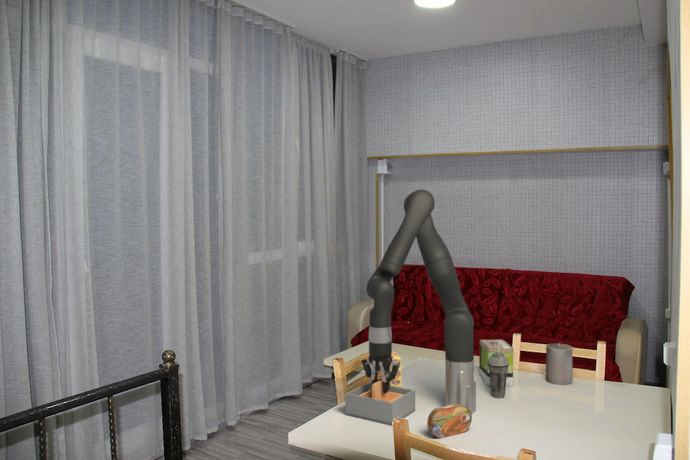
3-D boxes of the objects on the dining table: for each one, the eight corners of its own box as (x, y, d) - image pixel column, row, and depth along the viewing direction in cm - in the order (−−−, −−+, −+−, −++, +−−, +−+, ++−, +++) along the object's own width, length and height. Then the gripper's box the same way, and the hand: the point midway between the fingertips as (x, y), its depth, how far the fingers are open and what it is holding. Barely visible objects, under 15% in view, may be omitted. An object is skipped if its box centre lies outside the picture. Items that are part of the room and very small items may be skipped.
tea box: (514, 386, 214) (514, 347, 214) (487, 386, 214) (487, 347, 214) (503, 375, 229) (503, 338, 229) (478, 375, 229) (478, 338, 229)
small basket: (403, 409, 188) (403, 380, 188) (389, 418, 180) (389, 388, 179) (372, 402, 194) (372, 374, 194) (357, 411, 186) (356, 382, 186)
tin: (431, 440, 165) (431, 412, 164) (425, 436, 167) (425, 408, 167) (472, 431, 172) (472, 403, 171) (465, 427, 174) (465, 400, 174)
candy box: (402, 401, 199) (402, 357, 198) (390, 401, 198) (390, 358, 198) (396, 393, 207) (396, 351, 207) (385, 393, 207) (384, 351, 206)
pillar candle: (543, 377, 226) (543, 339, 225) (569, 377, 224) (569, 340, 224) (548, 384, 216) (548, 345, 215) (575, 385, 215) (575, 346, 214)
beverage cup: (486, 398, 201) (486, 342, 200) (489, 392, 208) (489, 337, 207) (507, 400, 198) (507, 343, 198) (509, 394, 205) (509, 339, 204)
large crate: (415, 410, 189) (415, 390, 189) (392, 425, 176) (392, 403, 176) (370, 401, 199) (369, 381, 198) (345, 414, 186) (345, 393, 185)
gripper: (404, 340, 186) (404, 392, 186) (367, 335, 193) (368, 385, 194) (393, 344, 179) (393, 398, 180) (356, 339, 187) (356, 391, 188)
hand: (380, 391), depth 187 cm, fingers open, 3 cm apart
